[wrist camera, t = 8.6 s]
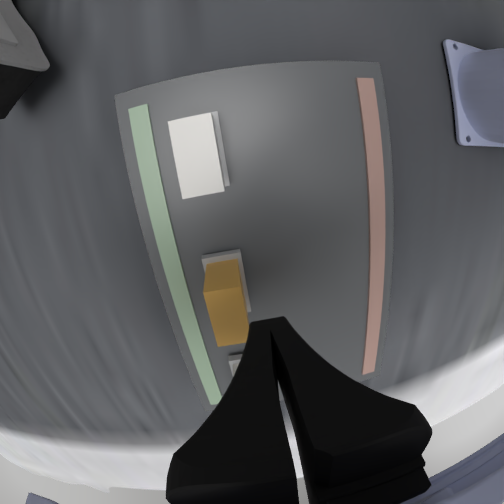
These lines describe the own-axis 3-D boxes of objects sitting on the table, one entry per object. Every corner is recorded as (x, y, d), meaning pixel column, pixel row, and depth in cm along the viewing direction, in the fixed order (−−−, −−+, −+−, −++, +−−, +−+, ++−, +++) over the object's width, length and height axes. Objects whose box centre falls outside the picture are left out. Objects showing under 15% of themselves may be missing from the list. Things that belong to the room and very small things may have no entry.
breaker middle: (239, 248, 16) (244, 279, 12) (250, 307, 17) (256, 345, 14) (202, 255, 16) (196, 287, 12) (216, 312, 17) (215, 352, 14)
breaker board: (364, 68, 15) (381, 61, 12) (370, 360, 23) (380, 377, 21) (126, 99, 14) (112, 94, 12) (205, 393, 22) (205, 413, 20)
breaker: (217, 111, 13) (215, 103, 10) (229, 183, 14) (231, 198, 11) (176, 120, 13) (161, 114, 10) (189, 191, 14) (178, 207, 11)
